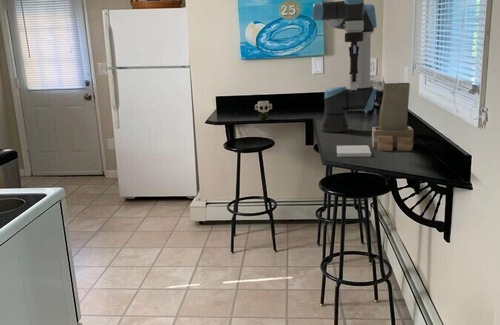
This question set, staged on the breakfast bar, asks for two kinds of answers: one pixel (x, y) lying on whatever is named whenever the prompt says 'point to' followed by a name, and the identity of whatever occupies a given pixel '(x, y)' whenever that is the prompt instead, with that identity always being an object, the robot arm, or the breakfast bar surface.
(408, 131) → the rack
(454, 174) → the breakfast bar surface
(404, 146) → the offcut block
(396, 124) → the stone slab
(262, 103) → the big eared figurine
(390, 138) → the offcut block
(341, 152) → the felt pad
